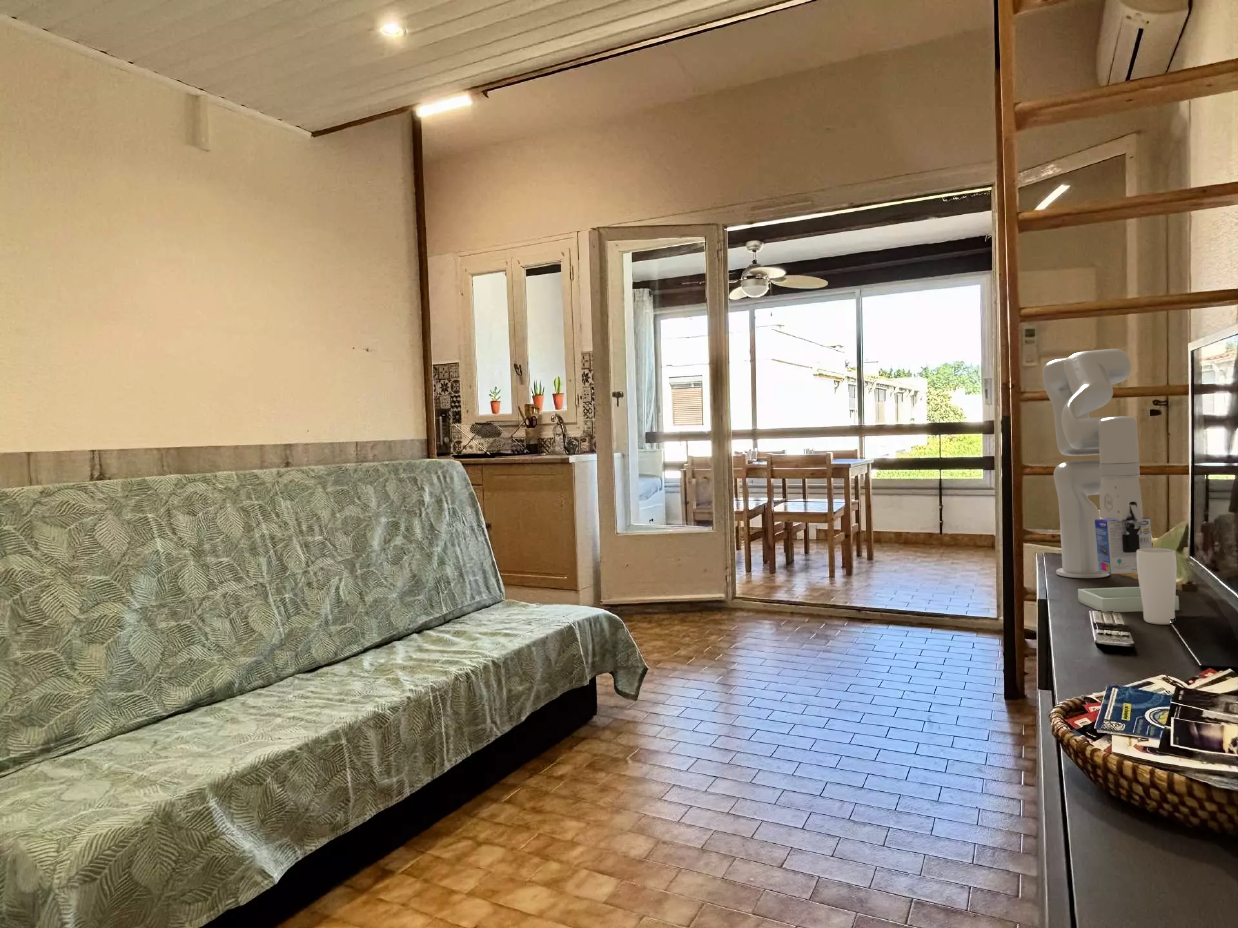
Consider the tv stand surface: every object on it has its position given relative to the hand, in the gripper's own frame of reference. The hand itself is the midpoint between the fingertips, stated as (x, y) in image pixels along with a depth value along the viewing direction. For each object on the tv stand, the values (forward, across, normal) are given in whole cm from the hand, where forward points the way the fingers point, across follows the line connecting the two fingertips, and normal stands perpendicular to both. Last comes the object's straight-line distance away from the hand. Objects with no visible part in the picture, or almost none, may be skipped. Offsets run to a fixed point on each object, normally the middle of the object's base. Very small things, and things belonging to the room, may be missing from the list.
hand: (1124, 549), depth 174 cm
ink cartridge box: (+5, 0, 0) cm, 5 cm away
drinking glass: (+13, +16, -2) cm, 21 cm away
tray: (+13, 0, 0) cm, 13 cm away
